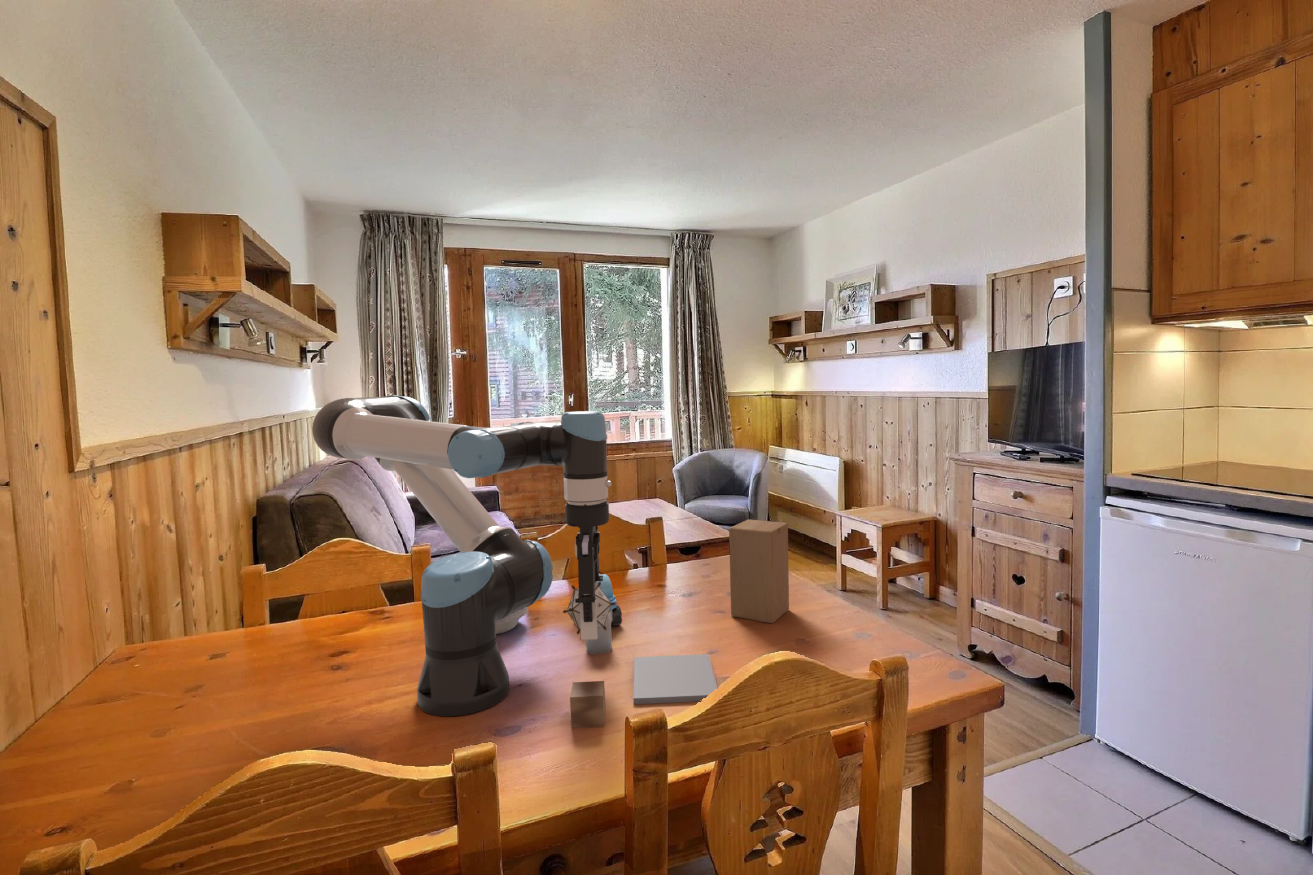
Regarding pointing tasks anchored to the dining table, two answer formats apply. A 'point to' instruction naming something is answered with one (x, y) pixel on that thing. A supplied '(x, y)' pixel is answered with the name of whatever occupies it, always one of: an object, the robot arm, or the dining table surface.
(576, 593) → the game die
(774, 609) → the wooden block
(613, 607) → the toy excavator
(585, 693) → the walnut block
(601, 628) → the grey cylinder
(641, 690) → the slate board
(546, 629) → the dining table surface
